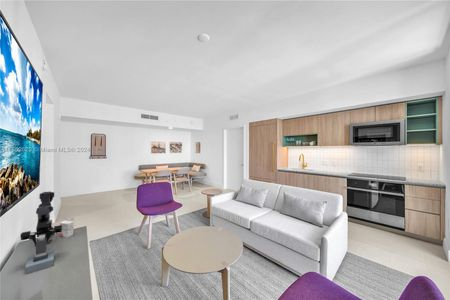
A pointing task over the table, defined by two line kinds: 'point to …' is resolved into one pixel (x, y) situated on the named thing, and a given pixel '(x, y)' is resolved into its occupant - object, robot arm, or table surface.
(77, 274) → the table surface
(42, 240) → the plug
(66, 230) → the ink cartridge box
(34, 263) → the socket block
